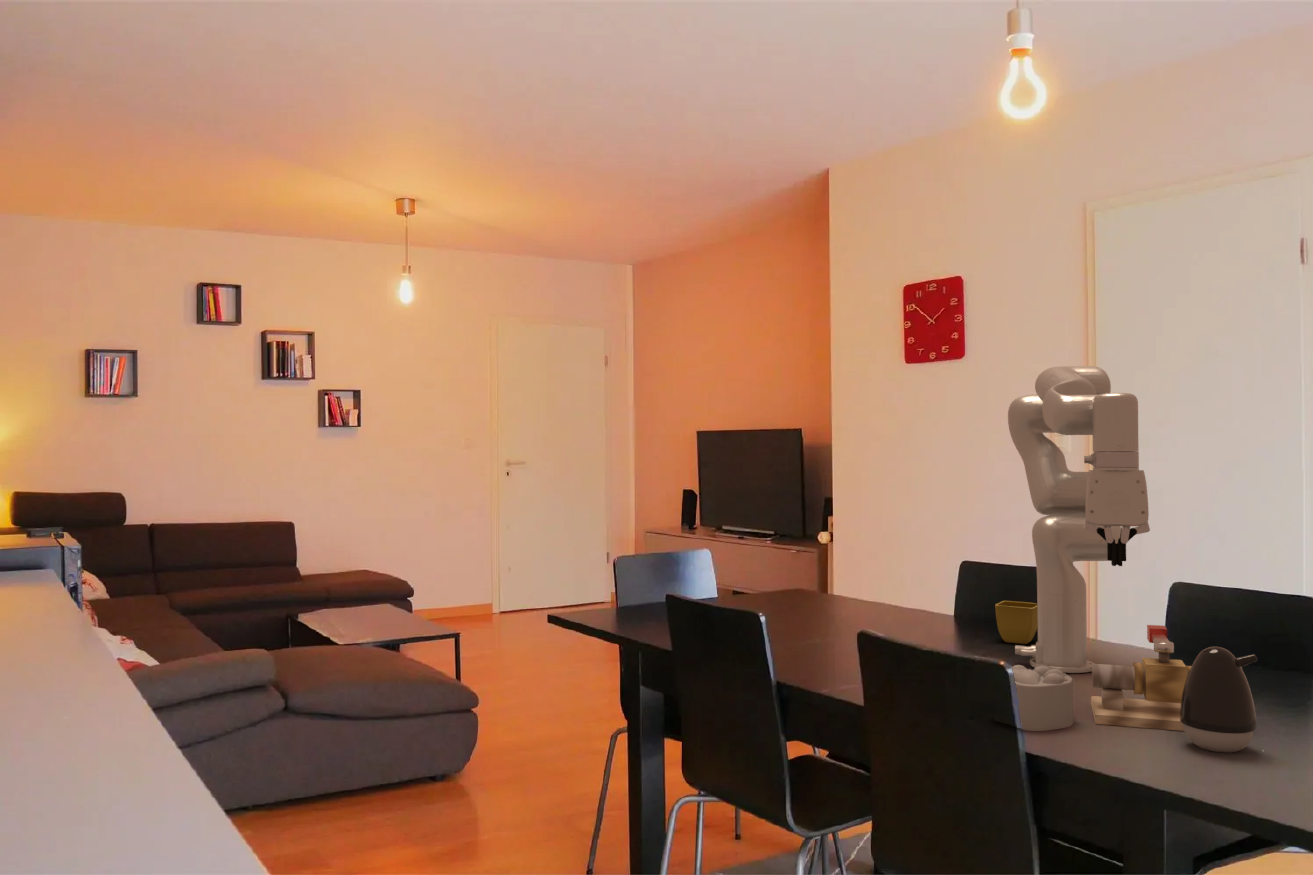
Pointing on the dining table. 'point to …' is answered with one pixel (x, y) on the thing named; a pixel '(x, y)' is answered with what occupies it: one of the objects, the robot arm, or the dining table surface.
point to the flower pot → (1016, 621)
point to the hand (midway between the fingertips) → (1116, 565)
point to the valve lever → (1159, 639)
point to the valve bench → (1152, 680)
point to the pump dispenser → (1218, 702)
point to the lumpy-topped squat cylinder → (1044, 698)
